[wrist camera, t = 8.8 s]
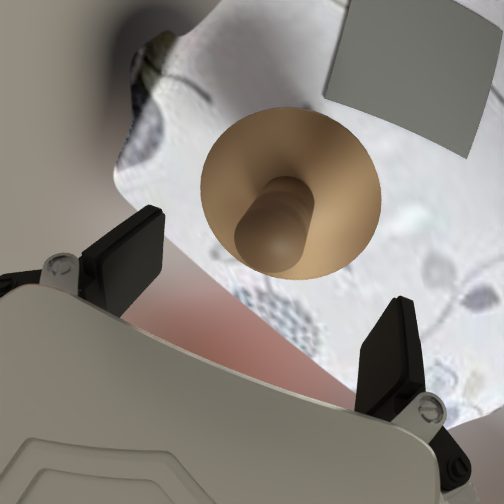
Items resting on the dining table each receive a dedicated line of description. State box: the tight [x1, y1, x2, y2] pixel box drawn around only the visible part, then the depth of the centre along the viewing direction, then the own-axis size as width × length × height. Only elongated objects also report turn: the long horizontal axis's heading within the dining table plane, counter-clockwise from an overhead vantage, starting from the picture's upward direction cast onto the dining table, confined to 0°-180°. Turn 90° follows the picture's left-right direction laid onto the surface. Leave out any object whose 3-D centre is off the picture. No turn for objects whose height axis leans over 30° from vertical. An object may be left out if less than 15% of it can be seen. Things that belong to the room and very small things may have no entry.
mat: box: [325, 0, 503, 159], centre depth 19 cm, size 14×14×1 cm
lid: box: [200, 107, 381, 280], centre depth 16 cm, size 11×11×6 cm
